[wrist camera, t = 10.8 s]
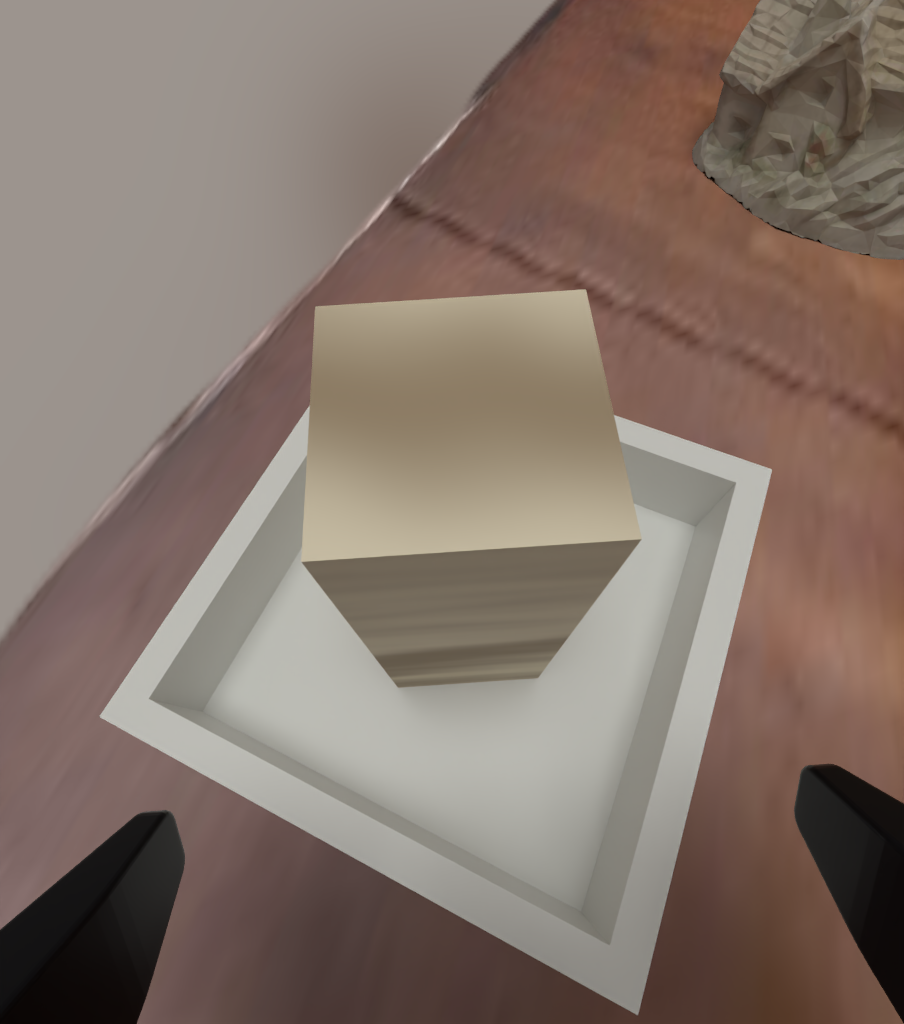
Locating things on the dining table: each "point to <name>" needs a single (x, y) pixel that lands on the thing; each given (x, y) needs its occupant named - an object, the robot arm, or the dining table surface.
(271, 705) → the box
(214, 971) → the dining table surface
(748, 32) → the ceramic cottage
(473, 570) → the birch block
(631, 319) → the dining table surface
